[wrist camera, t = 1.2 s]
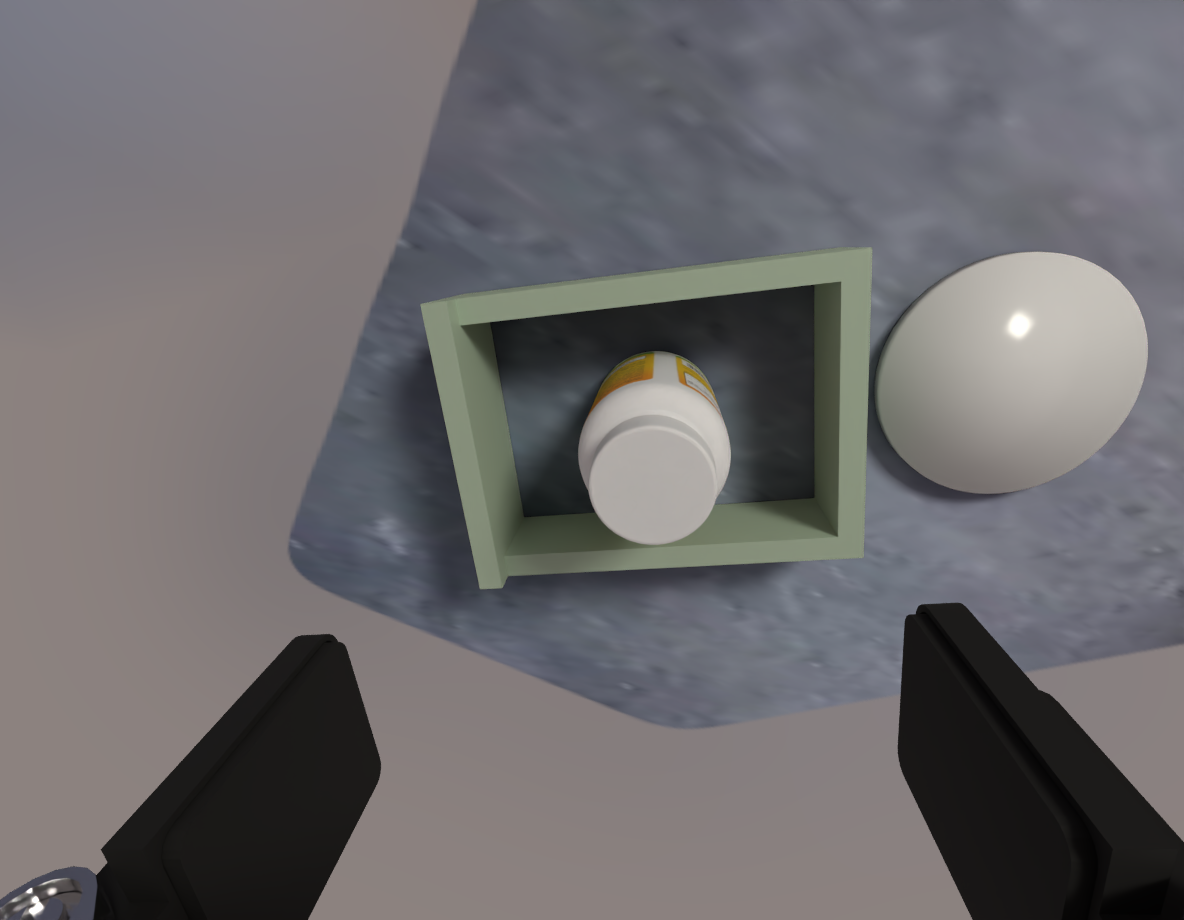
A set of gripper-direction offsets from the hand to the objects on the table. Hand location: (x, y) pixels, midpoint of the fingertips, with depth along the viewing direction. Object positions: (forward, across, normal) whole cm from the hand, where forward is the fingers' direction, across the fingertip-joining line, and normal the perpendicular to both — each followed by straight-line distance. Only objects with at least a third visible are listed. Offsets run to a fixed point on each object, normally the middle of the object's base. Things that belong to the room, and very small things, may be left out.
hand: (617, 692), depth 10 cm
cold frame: (+19, -1, 0) cm, 19 cm away
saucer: (+18, -15, 0) cm, 24 cm away
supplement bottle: (+19, -1, 0) cm, 19 cm away
